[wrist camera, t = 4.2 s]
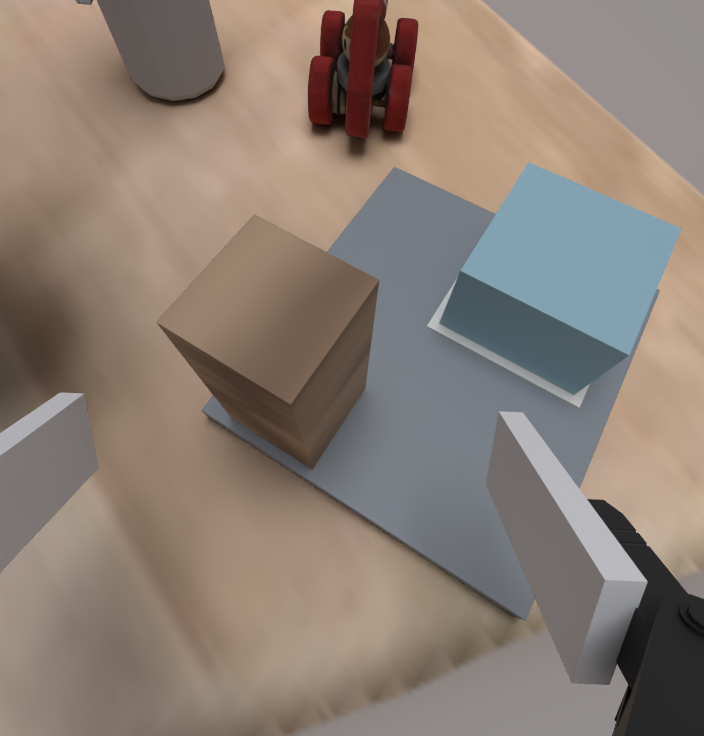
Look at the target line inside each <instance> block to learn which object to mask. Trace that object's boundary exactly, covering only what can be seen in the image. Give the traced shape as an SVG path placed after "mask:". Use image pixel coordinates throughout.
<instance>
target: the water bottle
mask: <svg viewBox="0 0 704 736" xmlns="http://www.w3.org/2000/svg"><path fill="white" fill-rule="evenodd" d="M76 1H77V3H78V4H88V5H91V4H92V2H93V0H76ZM97 2H98V4H99V7H100V9H101V11H102V13H103V16H104V18H105V20H106V22H107V25H108V27H109V29H110V32H111V34H112V36H113V38H114V41H115V43H116V45H117V47H118V50H119V52H120V54H121V57H122V59H123V61H124V63H125V66H126V68H127V70H128V72H129V75H130V77H131V79H132V81H133V82H135V83H136V84H137V85H138V86H139V87H140V88H141V89H143V90H144V91H145V92H146V93H148V94H149V95H151V96H152V97H157V98H161V99H166V100H170V101H177V100H183V99H190V98H196V97H197V96H199V95H201V94H203V93H205V92H206V91H208V90H210V89H212V88H213V87H214V85H215V84H216V82H217V81H218V79H219V77H220V76H221V74H222V72H223V70H224V67H225V66H224V61H223V57H222V52H221V48H220V44H219V40H218V35H217V31H216V27H215V23H214V19H213V14H212V10H211V6H210V2H209V0H97Z"/></svg>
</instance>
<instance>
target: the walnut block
mask: <svg viewBox="0 0 704 736" xmlns="http://www.w3.org/2000/svg"><path fill="white" fill-rule="evenodd" d="M378 287H379V280H378V279H377V278H375V277H373V276H371V275H369V274H367V273H365V272H363V271H361V270H359V269H357V268H356V267H354V266H352V265H350V264H348V263H346V262H344V261H342V260H340V259H338V258H337V257H335V256H333V255H331V254H329V253H327V252H325V251H323V250H321V249H319V248H318V247H316V246H314V245H312V244H310V243H308V242H306V241H304V240H302V239H300V238H299V237H297V236H295V235H293V234H291V233H289V232H287V231H285V230H283V229H281V228H279V227H278V226H276V225H274V224H272V223H270V222H268V221H266V220H264V219H262V218H260V217H259V216H257V215H255V214H254V215H253V216H252V217H251V218H250V220H249V221H248V222H247V223H246V224H245V225H244V226H243V227H242V228H241V229H240V231H239V232H238V233H237V234H236V235H235V236H234V237H233V238H232V239H231V240H230V242H229V243H228V244H227V245H226V246H225V247H224V248H223V249H222V250H221V251H220V252H219V254H218V255H217V256H216V257H215V258H214V259H213V260H212V261H211V262H210V263H209V265H208V266H207V267H206V268H205V269H204V270H203V271H202V272H201V273H200V274H199V276H198V277H197V278H196V279H195V280H194V281H193V282H192V283H191V284H190V285H189V287H188V288H187V289H186V290H185V291H184V292H183V293H182V294H181V295H180V296H179V298H178V299H177V300H176V301H175V302H174V303H173V304H172V305H171V306H170V307H169V309H168V310H167V311H166V312H165V313H164V314H163V315H162V316H161V317H160V318H159V320H158V321H157V324H158V325H159V326H160V328H161V329H162V330H163V331H164V333H165V334H166V335H167V337H168V338H169V339H170V340H171V342H172V343H173V344H174V345H175V347H176V348H177V349H178V351H179V352H180V353H181V354H182V356H183V357H184V358H185V360H186V361H187V362H188V363H189V365H190V366H191V367H192V368H193V370H194V371H195V372H196V374H197V375H198V376H199V377H200V379H201V380H202V381H203V383H204V384H205V385H206V386H207V388H208V389H209V390H210V391H211V393H212V394H213V395H214V397H215V398H216V399H217V400H218V402H219V403H220V404H221V406H222V407H223V408H224V409H225V411H226V412H227V413H228V414H229V416H230V417H231V418H232V419H234V420H236V421H237V422H239V423H240V424H242V425H243V426H245V427H246V428H248V429H250V430H251V431H253V432H254V433H256V434H257V435H259V436H261V437H262V438H264V439H265V440H267V441H268V442H270V443H271V444H273V445H275V446H276V447H278V448H279V449H281V450H282V451H284V452H285V453H287V454H289V455H290V456H292V457H293V458H295V459H296V460H298V461H300V462H301V463H303V464H304V465H306V466H307V467H309V468H310V469H312V470H313V468H314V467H315V465H316V464H317V462H318V460H319V459H320V457H321V456H322V454H323V453H324V451H325V450H326V448H327V447H328V445H329V444H330V442H331V441H332V439H333V437H334V436H335V434H336V433H337V431H338V430H339V428H340V427H341V425H342V424H343V422H344V421H345V419H346V417H347V416H348V414H349V413H350V411H351V410H352V408H353V407H354V405H355V404H356V402H357V401H358V399H359V398H360V396H361V394H362V393H363V391H364V390H365V387H366V379H367V372H368V364H369V356H370V348H371V341H372V333H373V325H374V318H375V310H376V302H377V294H378Z"/></svg>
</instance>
